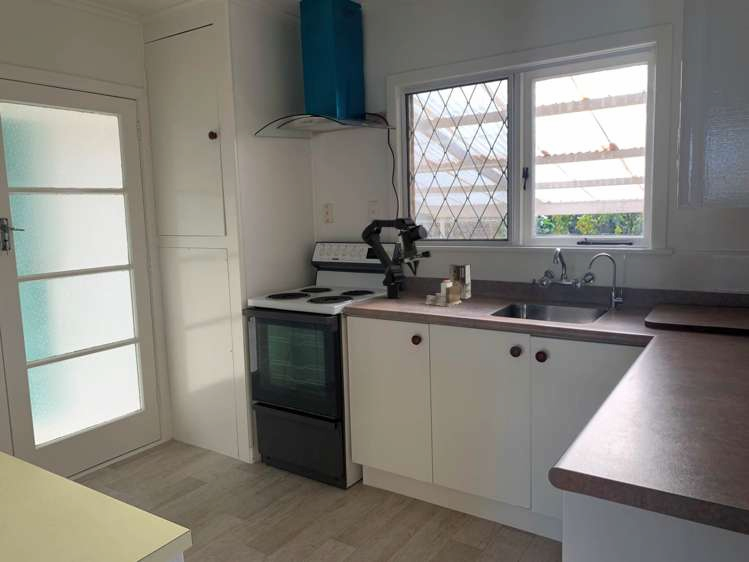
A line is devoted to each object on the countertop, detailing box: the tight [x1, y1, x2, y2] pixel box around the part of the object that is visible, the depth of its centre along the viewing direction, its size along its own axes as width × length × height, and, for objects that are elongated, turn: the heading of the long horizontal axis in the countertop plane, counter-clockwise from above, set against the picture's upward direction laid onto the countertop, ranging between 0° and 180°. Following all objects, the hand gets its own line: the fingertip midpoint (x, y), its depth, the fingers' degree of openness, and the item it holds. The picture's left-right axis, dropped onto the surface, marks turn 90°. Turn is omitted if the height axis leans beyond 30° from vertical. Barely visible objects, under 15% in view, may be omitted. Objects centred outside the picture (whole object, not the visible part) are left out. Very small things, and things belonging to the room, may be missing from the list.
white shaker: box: [440, 279, 452, 297], centre depth 267 cm, size 4×5×9 cm
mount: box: [424, 286, 462, 307], centre depth 268 cm, size 12×11×8 cm
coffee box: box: [448, 263, 472, 300], centre depth 283 cm, size 9×6×16 cm
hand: (415, 275), depth 275 cm, fingers closed
